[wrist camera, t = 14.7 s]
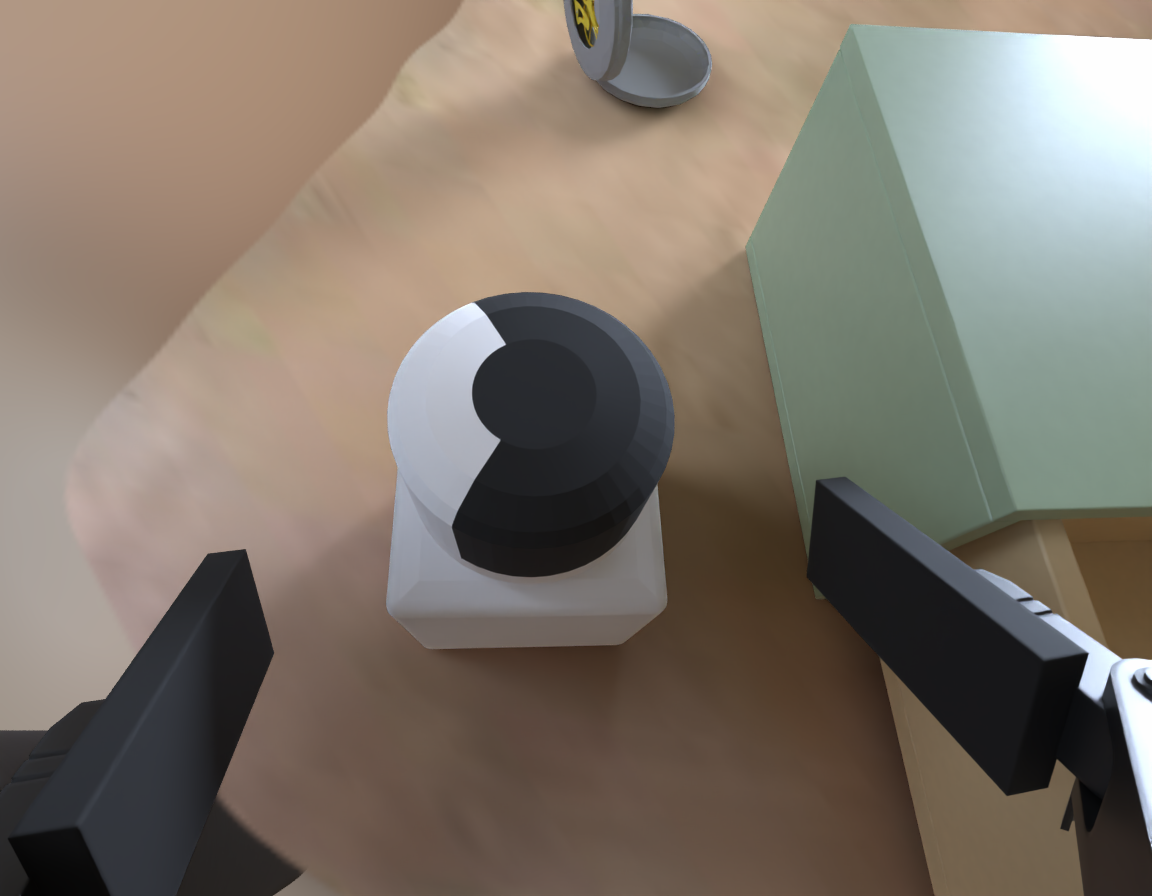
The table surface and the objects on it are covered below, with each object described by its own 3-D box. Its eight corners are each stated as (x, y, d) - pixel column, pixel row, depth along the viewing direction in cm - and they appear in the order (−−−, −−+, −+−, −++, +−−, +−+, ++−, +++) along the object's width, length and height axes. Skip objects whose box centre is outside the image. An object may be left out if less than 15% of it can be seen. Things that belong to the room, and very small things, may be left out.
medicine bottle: (615, 459, 26) (691, 256, 15) (627, 646, 23) (730, 566, 12) (432, 458, 25) (369, 244, 14) (421, 650, 22) (329, 571, 11)
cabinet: (1168, 585, 25) (1567, 496, 16) (814, 599, 24) (1016, 510, 14) (1028, 251, 32) (1250, 44, 22) (744, 247, 31) (850, 23, 21)
